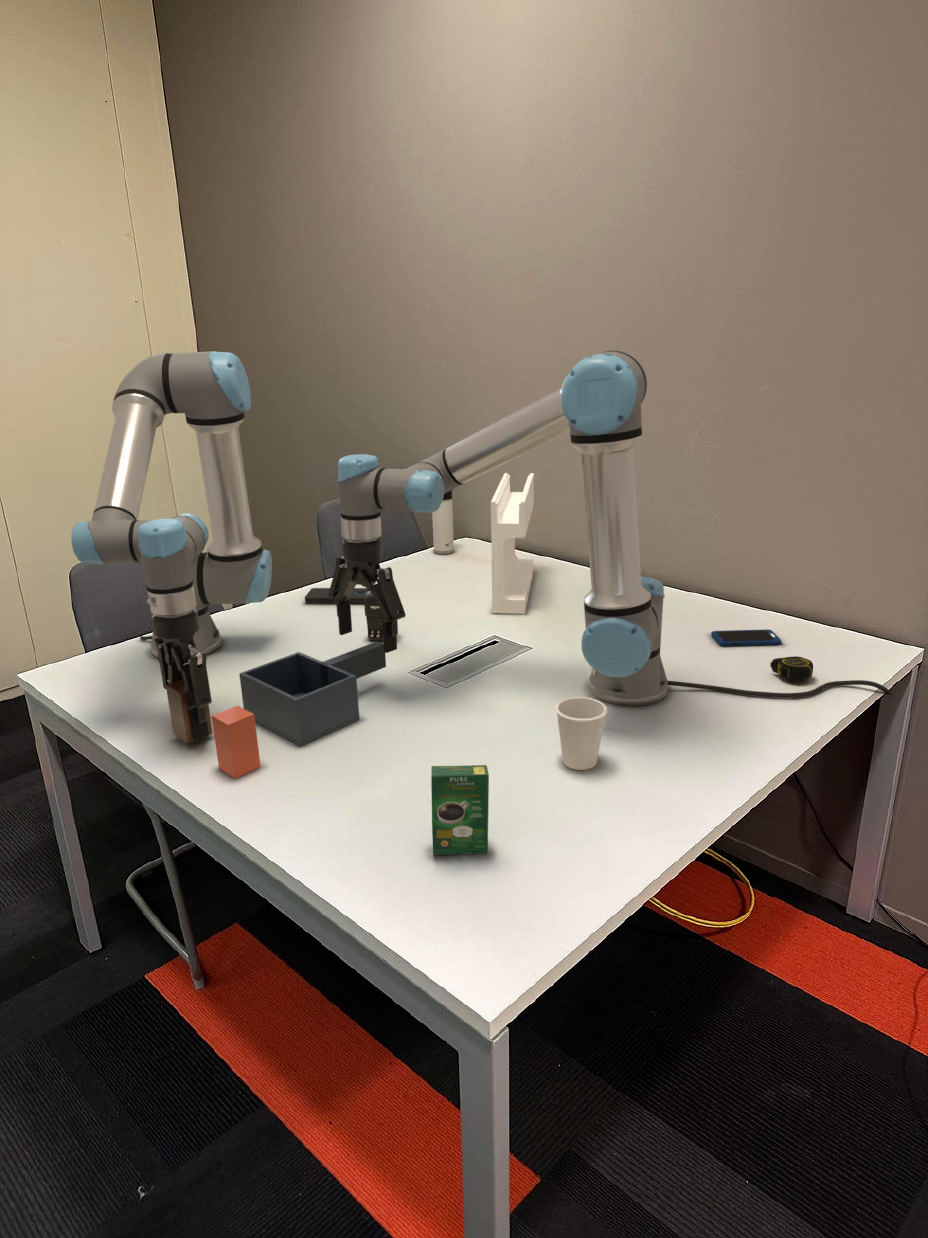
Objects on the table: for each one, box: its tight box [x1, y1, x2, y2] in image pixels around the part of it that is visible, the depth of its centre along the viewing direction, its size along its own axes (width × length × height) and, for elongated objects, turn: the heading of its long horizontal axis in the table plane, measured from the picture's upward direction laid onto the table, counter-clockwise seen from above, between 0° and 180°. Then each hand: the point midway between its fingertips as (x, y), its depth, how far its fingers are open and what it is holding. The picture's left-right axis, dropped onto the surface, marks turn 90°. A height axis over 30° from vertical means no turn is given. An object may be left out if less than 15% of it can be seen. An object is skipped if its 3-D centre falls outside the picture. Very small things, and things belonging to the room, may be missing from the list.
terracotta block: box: [211, 705, 262, 780], centre depth 142 cm, size 5×5×10 cm
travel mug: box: [431, 489, 455, 555], centre depth 260 cm, size 6×7×20 cm
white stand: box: [490, 472, 535, 615], centre depth 222 cm, size 35×8×28 cm, turn 172°
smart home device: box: [304, 587, 369, 605], centre depth 224 cm, size 8×2×20 cm
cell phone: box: [710, 629, 782, 647], centre depth 191 cm, size 7×14×1 cm, turn 91°
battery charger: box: [363, 591, 390, 642], centre depth 195 cm, size 7×4×11 cm, turn 86°
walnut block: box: [165, 679, 214, 745], centre depth 152 cm, size 5×5×10 cm
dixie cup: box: [555, 696, 608, 771], centre depth 141 cm, size 8×8×10 cm
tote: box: [239, 640, 387, 747], centre depth 164 cm, size 27×18×9 cm, turn 137°
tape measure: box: [769, 655, 814, 682], centre depth 171 cm, size 7×7×4 cm
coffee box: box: [430, 764, 490, 856], centre depth 119 cm, size 8×3×13 cm, turn 92°
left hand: (192, 731), depth 154 cm, fingers closed on walnut block, 5 cm apart
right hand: (367, 641), depth 169 cm, fingers open, 13 cm apart
